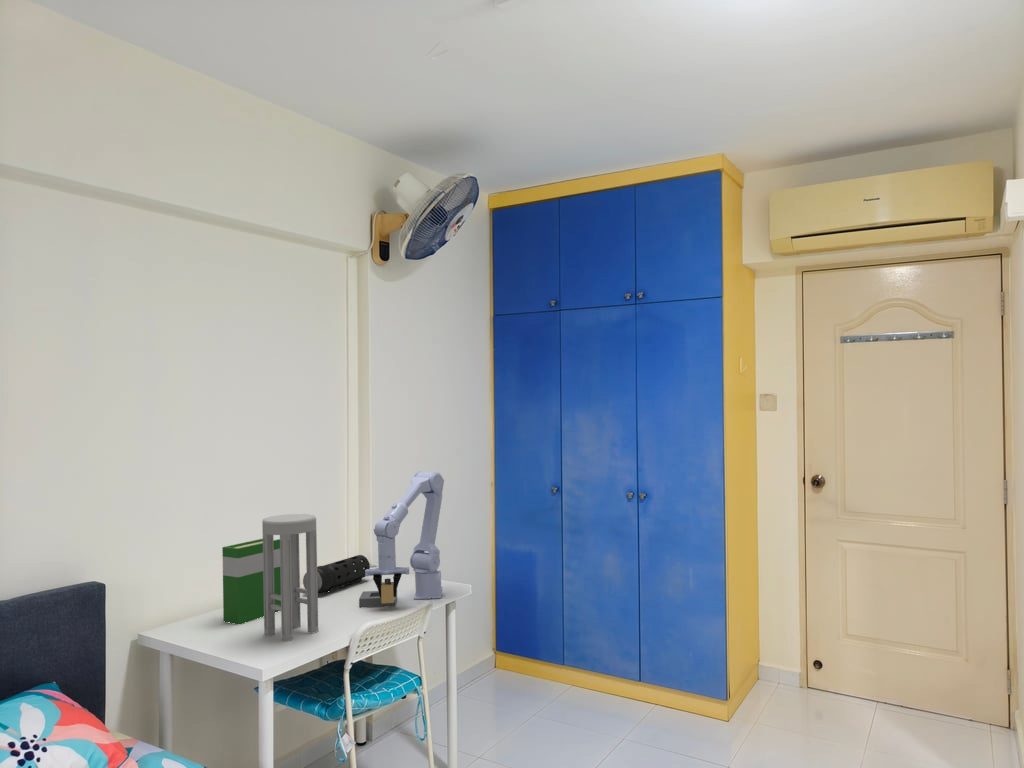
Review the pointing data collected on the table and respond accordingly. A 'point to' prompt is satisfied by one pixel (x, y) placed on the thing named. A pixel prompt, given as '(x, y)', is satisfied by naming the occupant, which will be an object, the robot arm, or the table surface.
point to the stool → (290, 573)
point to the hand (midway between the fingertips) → (388, 596)
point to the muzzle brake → (340, 573)
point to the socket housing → (373, 600)
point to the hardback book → (247, 581)
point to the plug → (387, 591)
